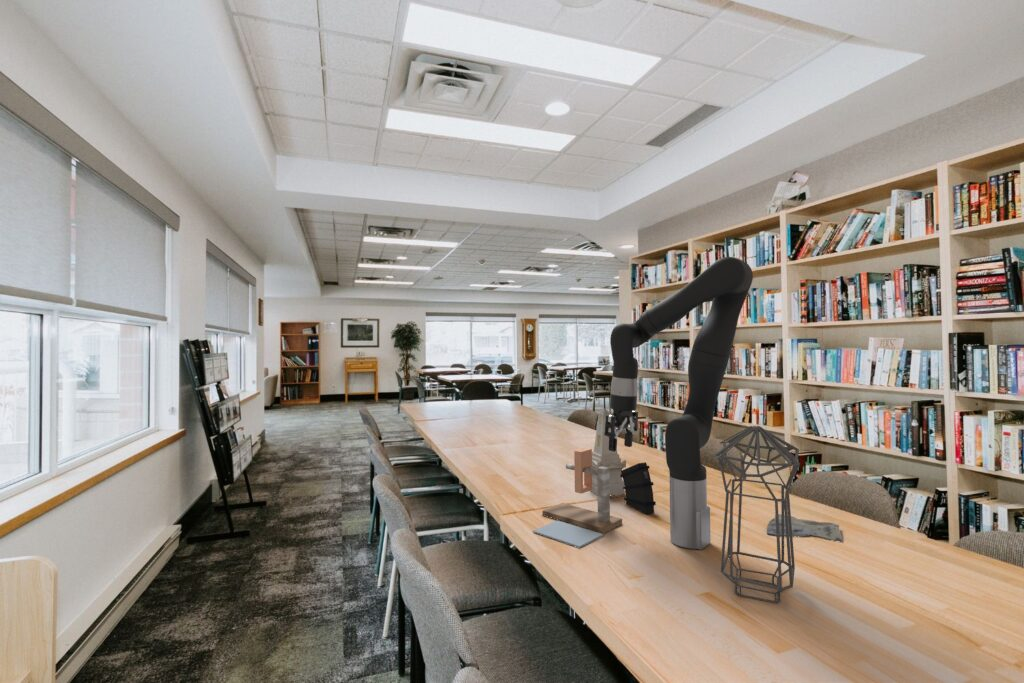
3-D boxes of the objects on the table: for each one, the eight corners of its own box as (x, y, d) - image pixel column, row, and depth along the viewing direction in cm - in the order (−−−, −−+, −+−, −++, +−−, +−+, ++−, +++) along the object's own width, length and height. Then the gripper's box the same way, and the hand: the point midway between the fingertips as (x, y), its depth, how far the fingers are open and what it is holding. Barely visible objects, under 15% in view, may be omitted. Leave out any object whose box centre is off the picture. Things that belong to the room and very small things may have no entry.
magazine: (652, 512, 147) (638, 463, 153) (628, 519, 158) (616, 472, 164) (662, 510, 148) (648, 461, 155) (638, 517, 159) (625, 471, 165)
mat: (603, 536, 133) (603, 534, 133) (579, 548, 125) (579, 546, 125) (557, 522, 144) (557, 520, 144) (532, 532, 136) (532, 530, 136)
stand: (622, 523, 142) (621, 466, 143) (603, 533, 135) (602, 472, 135) (562, 507, 157) (561, 455, 158) (542, 515, 150) (541, 460, 150)
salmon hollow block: (592, 489, 147) (591, 449, 147) (581, 493, 143) (580, 452, 143) (585, 488, 149) (585, 448, 149) (574, 492, 144) (574, 450, 145)
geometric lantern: (799, 584, 105) (799, 423, 105) (800, 621, 92) (799, 436, 91) (721, 567, 113) (720, 417, 113) (710, 599, 100) (710, 429, 99)
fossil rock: (837, 529, 138) (837, 521, 138) (844, 549, 125) (844, 540, 125) (768, 519, 146) (767, 511, 146) (767, 536, 133) (766, 528, 133)
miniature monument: (586, 489, 178) (585, 407, 178) (611, 486, 181) (610, 405, 181) (599, 497, 168) (598, 410, 168) (626, 494, 171) (625, 409, 171)
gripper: (622, 396, 132) (618, 455, 133) (647, 393, 143) (644, 447, 143) (599, 393, 137) (595, 449, 138) (625, 389, 148) (622, 442, 148)
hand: (620, 448), depth 141 cm, fingers open, 8 cm apart
